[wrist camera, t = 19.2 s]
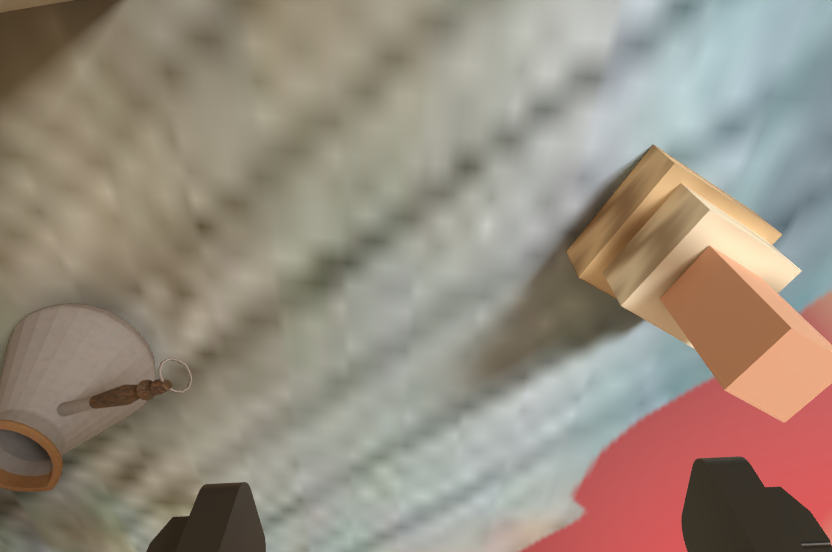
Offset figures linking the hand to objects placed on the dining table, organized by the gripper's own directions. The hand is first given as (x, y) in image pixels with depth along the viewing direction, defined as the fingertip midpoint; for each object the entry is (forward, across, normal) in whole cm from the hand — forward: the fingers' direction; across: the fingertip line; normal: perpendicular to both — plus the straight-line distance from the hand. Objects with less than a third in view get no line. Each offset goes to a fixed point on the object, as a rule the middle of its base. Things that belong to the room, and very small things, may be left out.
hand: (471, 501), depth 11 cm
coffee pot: (+34, -25, -17) cm, 46 cm away
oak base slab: (+35, +17, -12) cm, 40 cm away
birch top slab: (+30, +17, -12) cm, 37 cm away
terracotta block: (+26, +17, -12) cm, 33 cm away
